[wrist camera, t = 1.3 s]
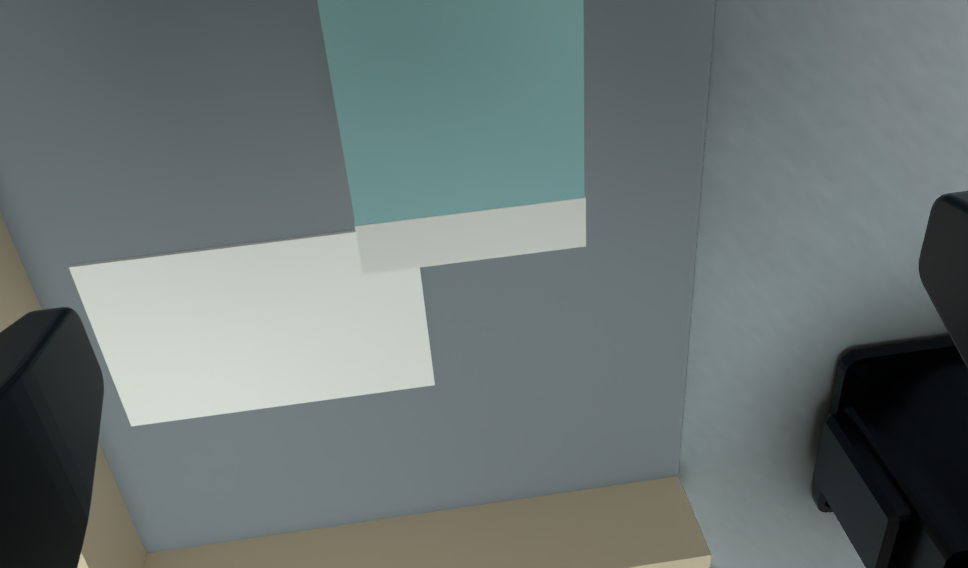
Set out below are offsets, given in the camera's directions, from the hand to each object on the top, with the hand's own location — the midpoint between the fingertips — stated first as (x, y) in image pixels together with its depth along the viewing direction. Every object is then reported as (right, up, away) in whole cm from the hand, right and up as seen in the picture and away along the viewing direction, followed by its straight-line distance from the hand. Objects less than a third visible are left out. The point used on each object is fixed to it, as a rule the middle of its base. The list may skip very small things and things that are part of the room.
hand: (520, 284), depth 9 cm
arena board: (-4, +1, +13) cm, 13 cm away
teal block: (-1, +6, +9) cm, 11 cm away
